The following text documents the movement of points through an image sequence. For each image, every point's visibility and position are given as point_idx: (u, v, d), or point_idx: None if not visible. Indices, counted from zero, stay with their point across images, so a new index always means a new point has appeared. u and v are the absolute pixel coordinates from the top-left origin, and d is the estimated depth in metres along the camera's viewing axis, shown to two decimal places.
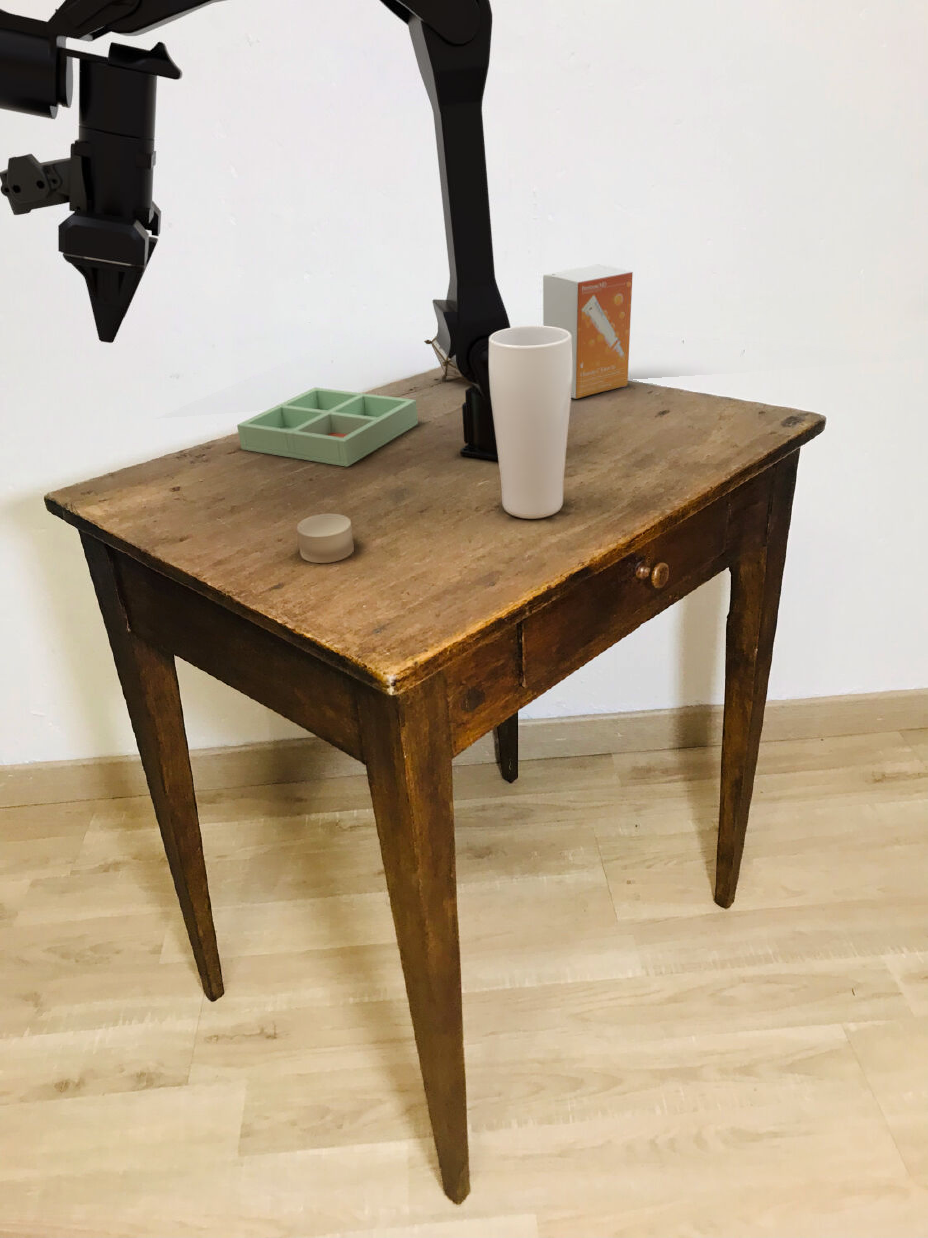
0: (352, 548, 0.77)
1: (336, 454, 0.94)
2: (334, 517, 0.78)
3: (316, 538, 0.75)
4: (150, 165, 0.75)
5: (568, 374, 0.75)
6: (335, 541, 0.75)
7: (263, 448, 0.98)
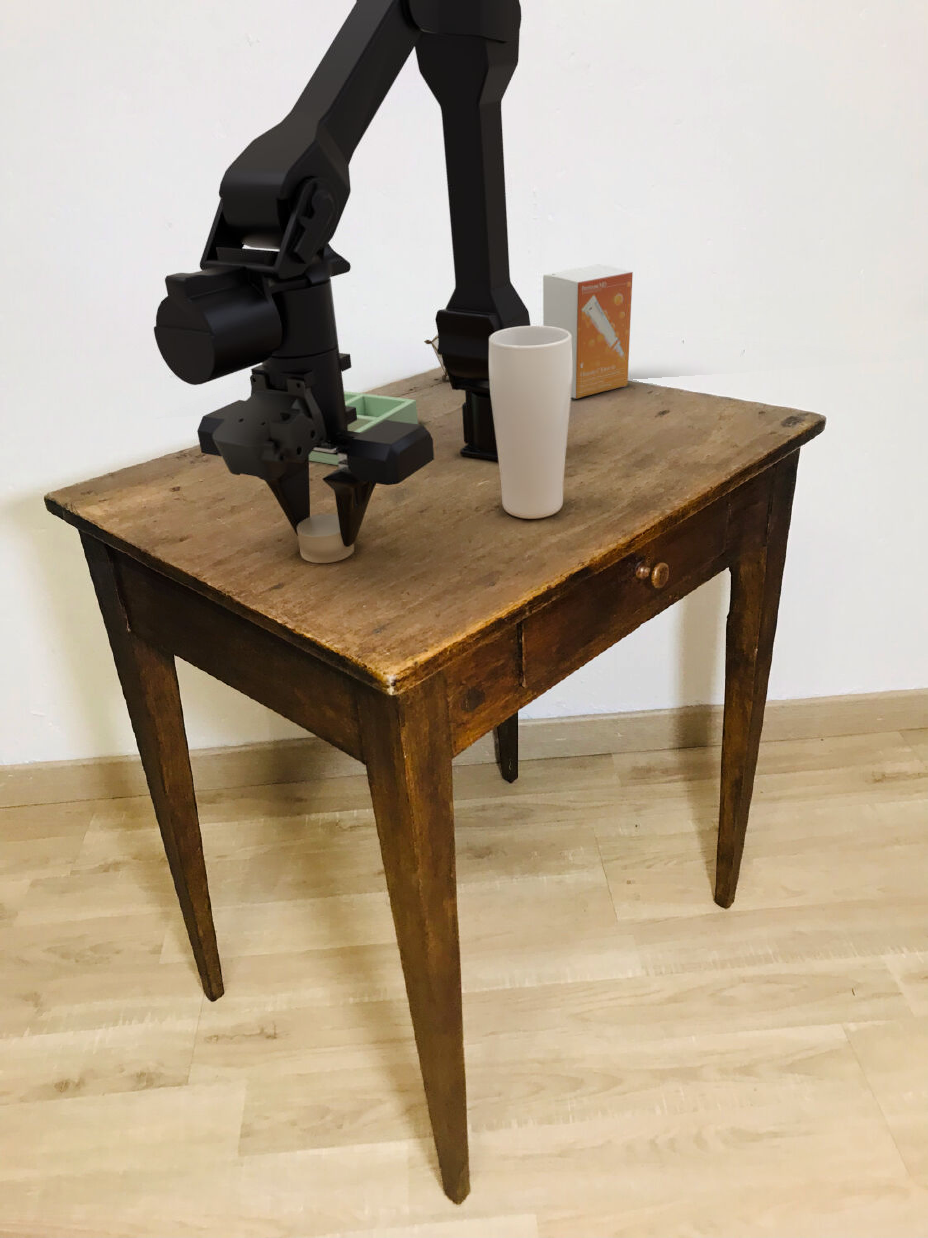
0: (352, 548, 0.77)
1: None
2: (334, 517, 0.78)
3: (316, 539, 0.75)
4: (350, 364, 0.71)
5: (568, 374, 0.75)
6: (335, 542, 0.75)
7: None
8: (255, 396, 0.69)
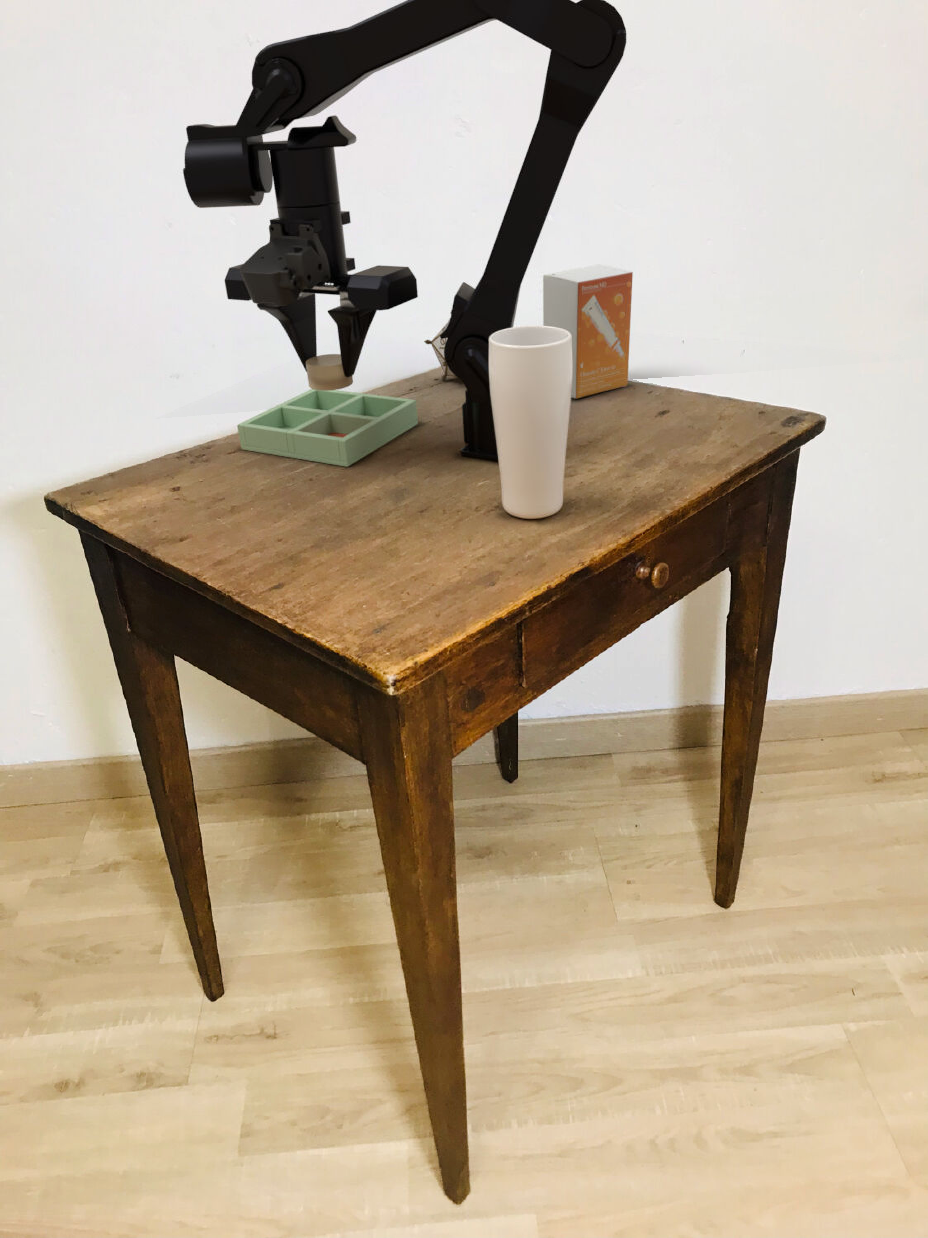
0: (351, 380, 0.94)
1: (336, 454, 0.94)
2: (336, 355, 0.95)
3: (321, 368, 0.92)
4: (349, 220, 0.88)
5: (568, 374, 0.75)
6: (337, 371, 0.92)
7: (263, 448, 0.98)
8: (273, 241, 0.85)
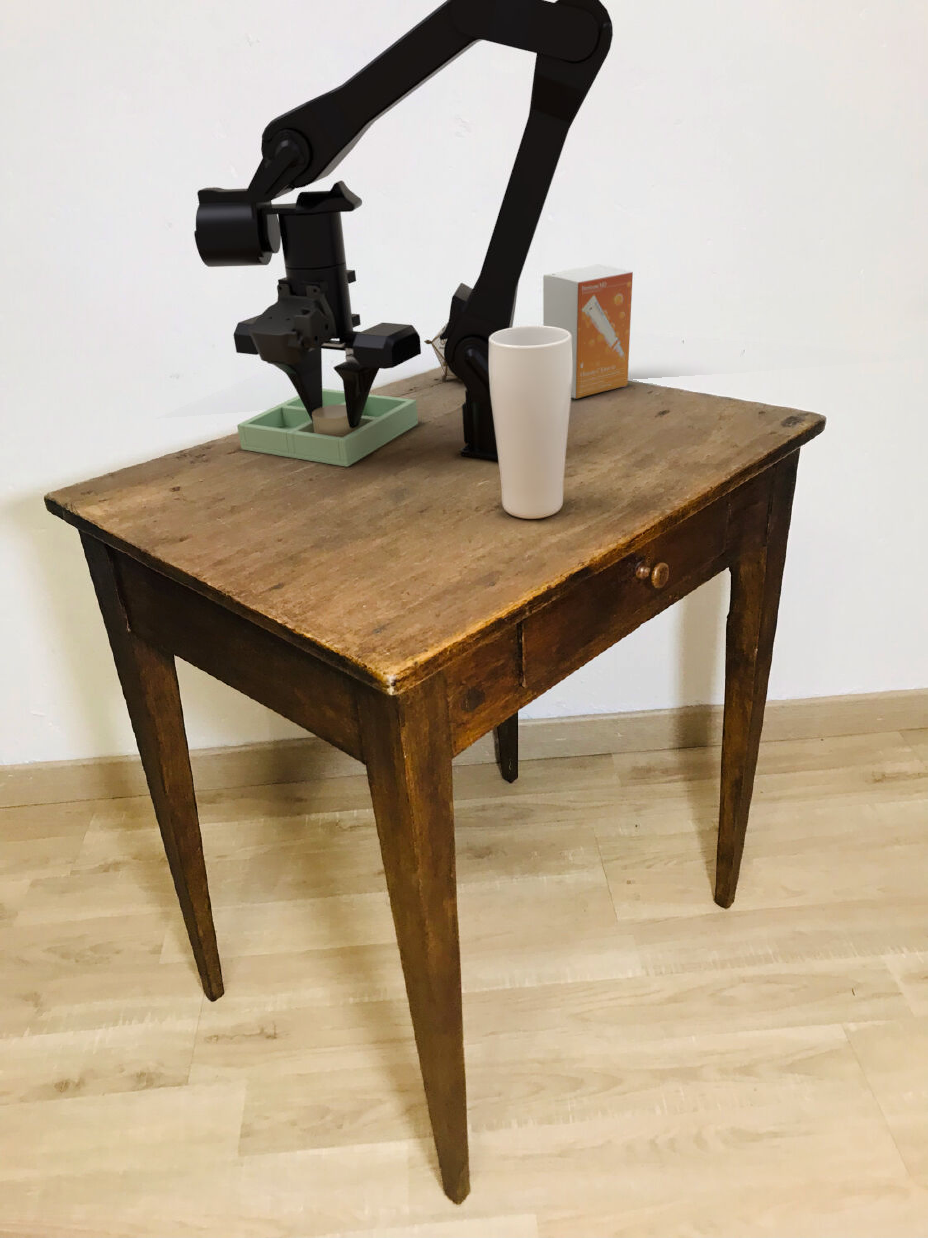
0: None
1: (336, 454, 0.94)
2: (342, 406, 0.97)
3: (327, 420, 0.94)
4: (355, 278, 0.91)
5: (568, 374, 0.75)
6: (342, 423, 0.95)
7: (263, 448, 0.98)
8: (281, 301, 0.88)
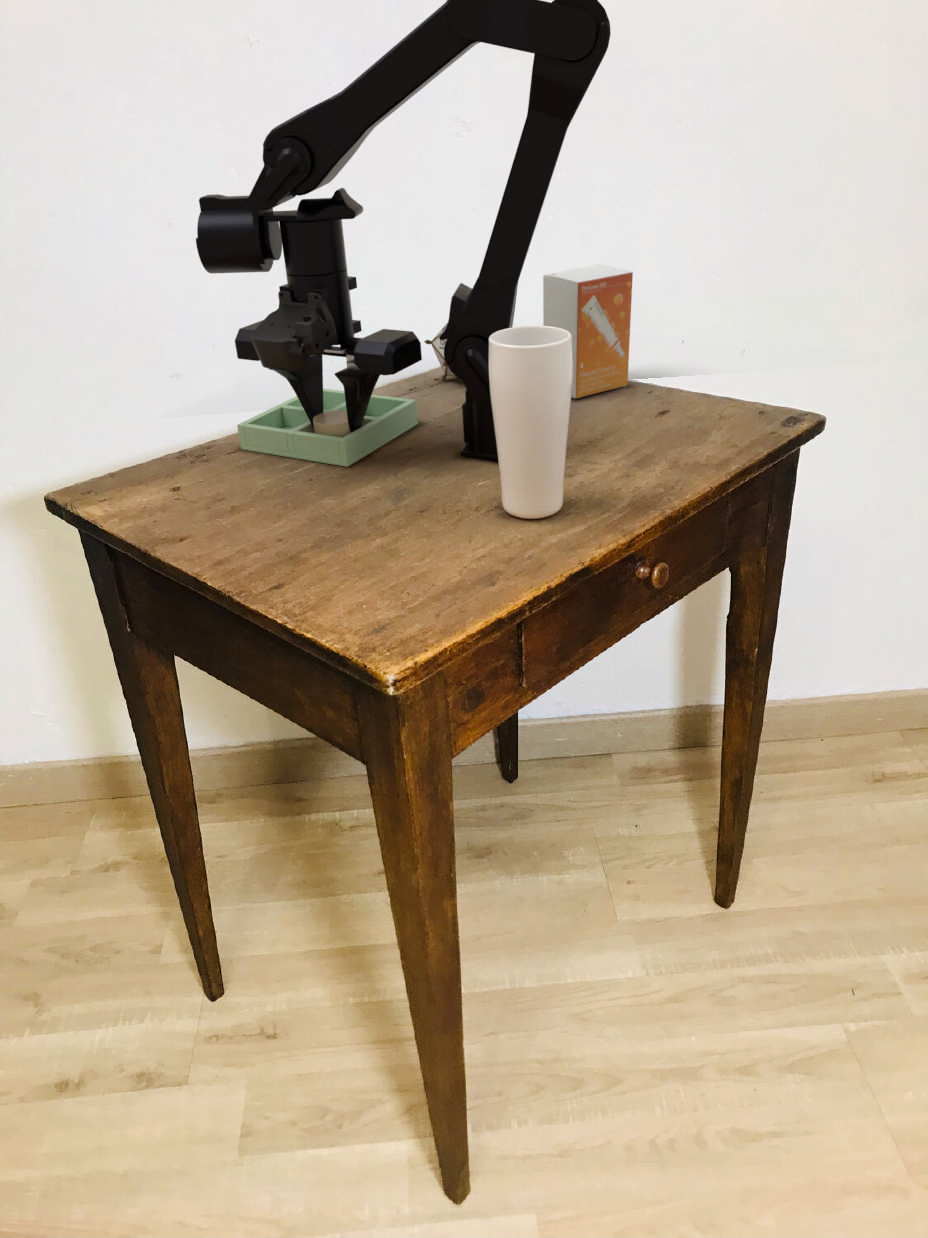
0: None
1: (336, 454, 0.94)
2: (343, 412, 0.98)
3: (328, 426, 0.95)
4: (356, 285, 0.91)
5: (568, 374, 0.75)
6: (343, 429, 0.95)
7: (263, 448, 0.98)
8: (282, 307, 0.89)
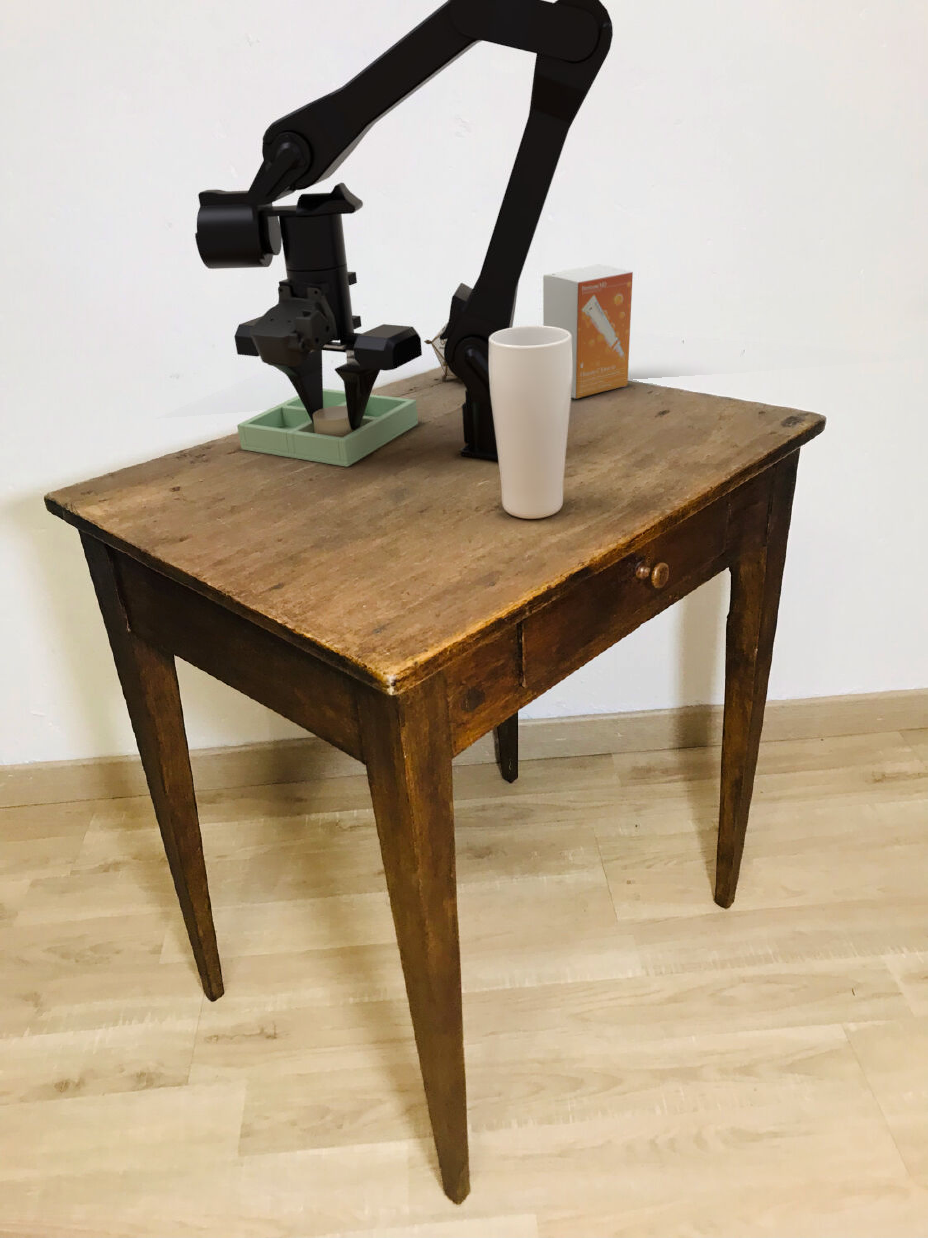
0: None
1: (336, 454, 0.94)
2: (343, 408, 0.97)
3: (328, 422, 0.94)
4: (356, 280, 0.91)
5: (568, 374, 0.75)
6: (343, 425, 0.95)
7: (263, 448, 0.98)
8: (282, 302, 0.88)
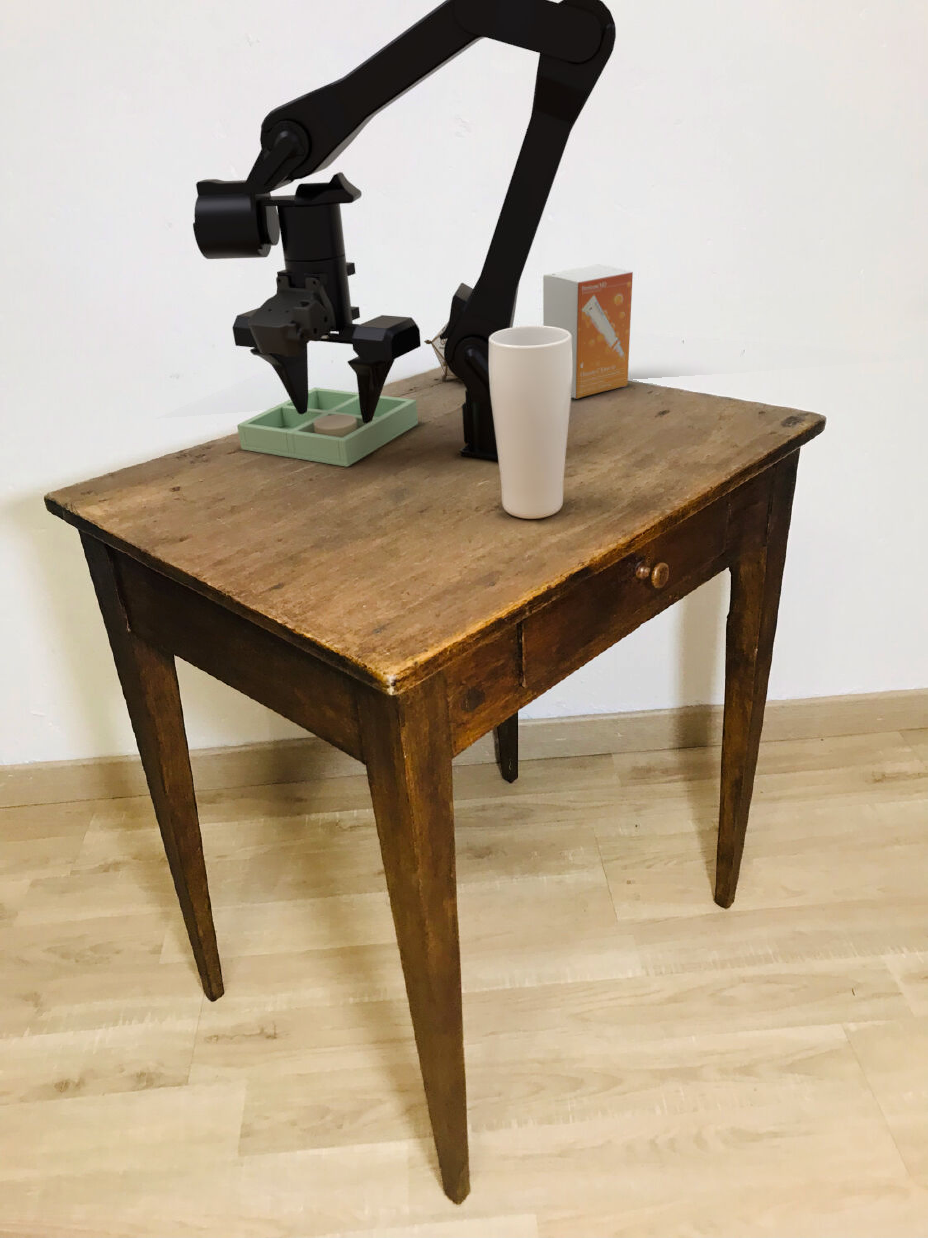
0: None
1: (336, 454, 0.94)
2: (343, 416, 0.98)
3: (329, 430, 0.95)
4: (354, 270, 0.91)
5: (568, 374, 0.75)
6: (344, 433, 0.95)
7: (263, 448, 0.98)
8: (280, 293, 0.88)
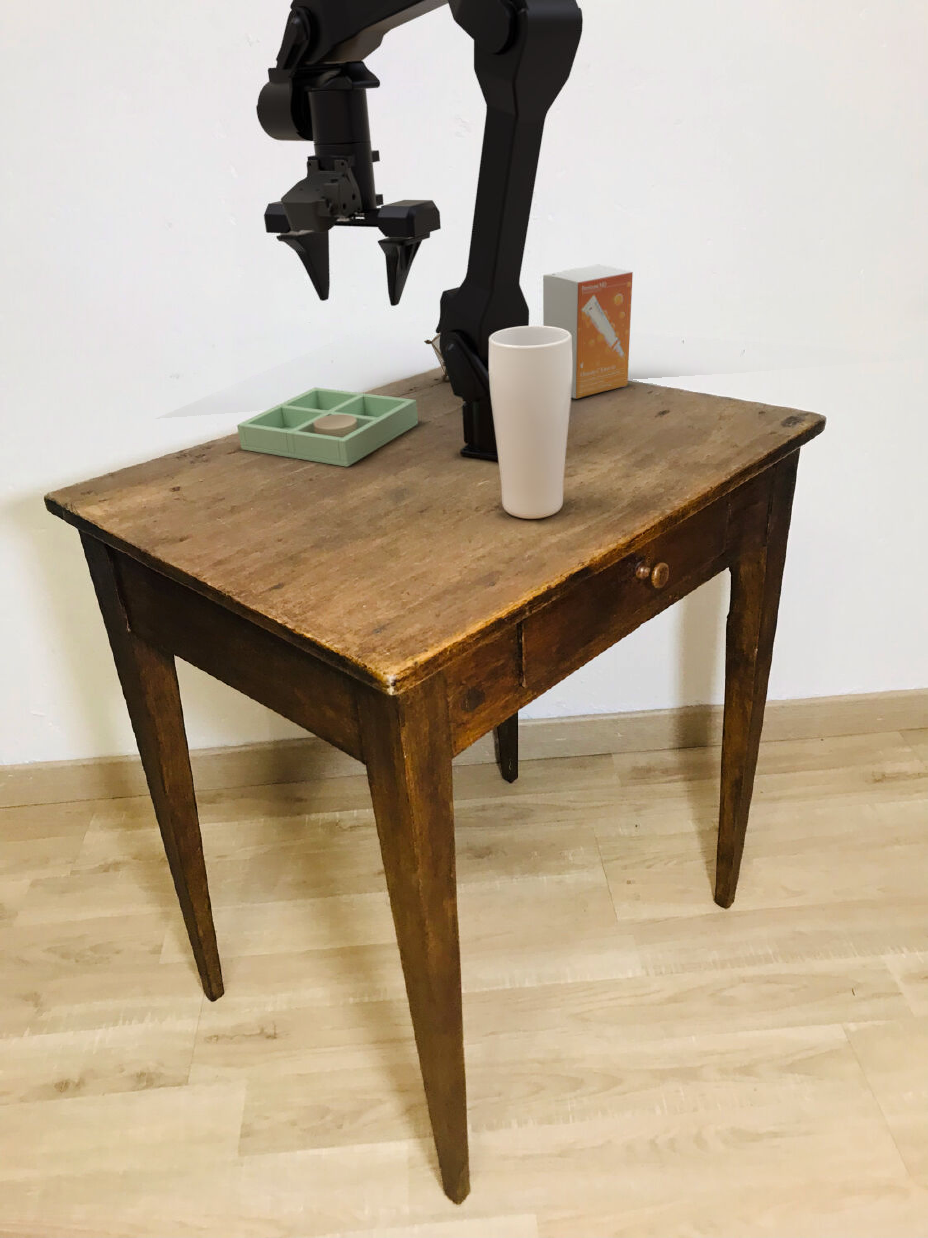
0: None
1: (336, 454, 0.94)
2: (343, 416, 0.98)
3: (329, 430, 0.95)
4: (379, 158, 0.97)
5: (568, 374, 0.75)
6: (344, 433, 0.95)
7: (263, 448, 0.98)
8: (310, 176, 0.94)
